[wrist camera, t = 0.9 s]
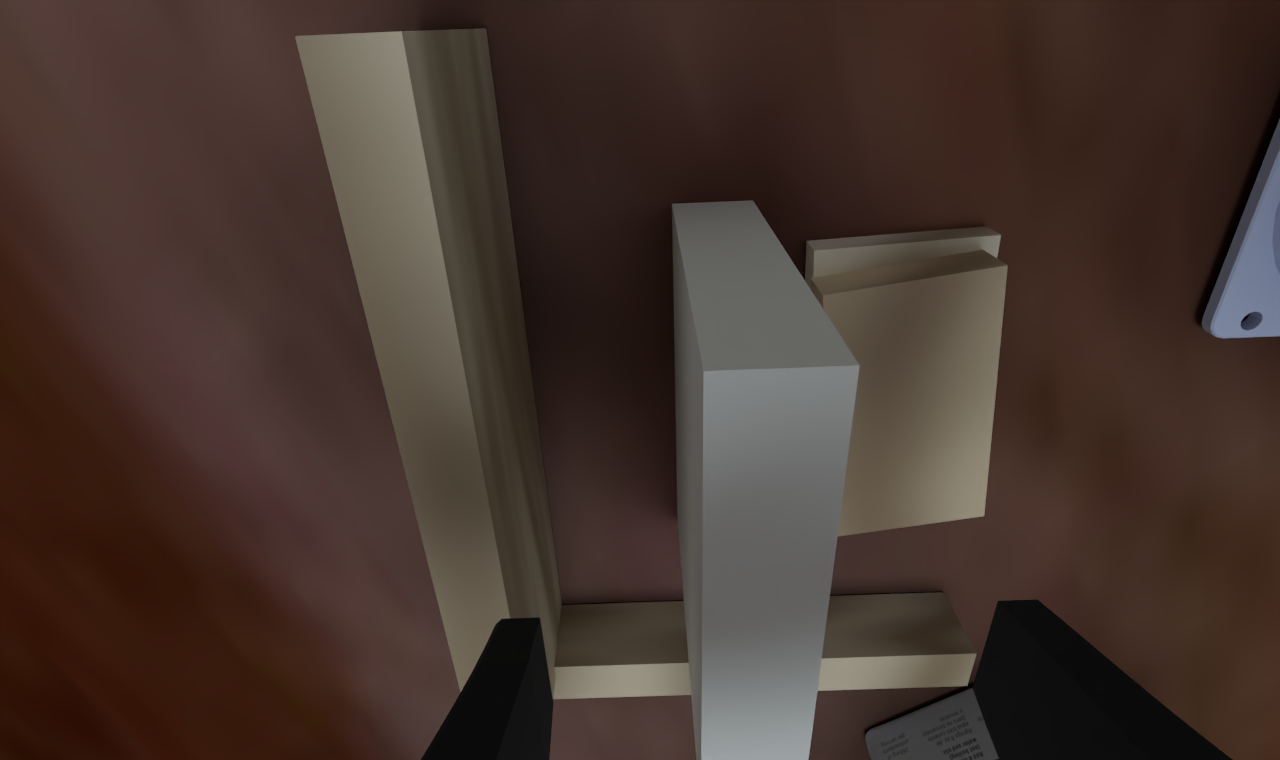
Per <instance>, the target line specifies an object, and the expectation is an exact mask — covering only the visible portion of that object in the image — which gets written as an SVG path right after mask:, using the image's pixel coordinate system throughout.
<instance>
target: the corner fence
mask: <svg viewBox="0 0 1280 760" xmlns="http://www.w3.org/2000/svg"><path fill="white" fill-rule="evenodd" d="M295 38H296V42H297V46H298V50H299V54H300V58H301V62H302V66H303V70H304V74H305V78H306V82H307V86H308V90H309V93H310V97H311V101H312V105H313V109H314V113H315V117H316V121H317V125H318V129H319V133H320V137H321V141H322V145H323V149H324V153H325V157H326V161H327V165H328V169H329V173H330V177H331V181H332V185H333V189H334V193H335V196H336V200H337V204H338V208H339V212H340V216H341V220H342V224H343V228H344V232H345V236H346V240H347V244H348V248H349V252H350V256H351V260H352V264H353V268H354V272H355V276H356V280H357V284H358V288H359V292H360V296H361V299H362V303H363V307H364V311H365V315H366V319H367V323H368V327H369V331H370V335H371V339H372V343H373V347H374V351H375V355H376V359H377V363H378V367H379V371H380V375H381V379H382V383H383V387H384V391H385V395H386V399H387V403H388V406H389V410H390V414H391V418H392V422H393V426H394V430H395V434H396V438H397V442H398V446H399V450H400V454H401V458H402V462H403V466H404V470H405V474H406V478H407V482H408V486H409V490H410V494H411V498H412V502H413V506H414V509H415V513H416V517H417V521H418V525H419V529H420V533H421V537H422V541H423V545H424V549H425V553H426V557H427V561H428V565H429V569H430V573H431V577H432V581H433V585H434V589H435V593H436V597H437V601H438V605H439V609H440V613H441V616H442V620H443V624H444V628H445V632H446V636H447V640H448V644H449V648H450V652H451V656H452V660H453V664H454V668H455V672H456V676H457V680H458V684H459V688H460V692H461V691H462V689H463V687H464V686H465V684H466V682H467V680H468V678H469V677H470V675H471V673H472V671H473V669H474V667H475V665H476V663H477V661H478V659H479V658H480V656H481V654H482V652H483V650H484V648H485V646H486V644H487V642H488V640H489V637H490V635H491V633H492V631H493V629H494V627H495V625H496V623H498V622H499V621H500V620H501V619H507V618H535V617H540V620H541V627H542V633H543V640H544V646H545V652H546V659H547V665H548V672H549V678H550V685H551V691H552V698H553V699H572V698H604V697H636V696H667V695H691V685H690V672H689V660H688V647H687V635H686V622H685V610H684V601H669V602H639V603H609V604H579V605H562V601H561V593H560V586H559V578H558V570H557V563H556V555H555V548H554V540H553V532H552V525H551V517H550V510H549V502H548V494H547V487H546V479H545V472H544V464H543V456H542V449H541V441H540V434H539V426H538V418H537V411H536V403H535V396H534V388H533V380H532V373H531V365H530V358H529V350H528V342H527V335H526V327H525V320H524V312H523V304H522V297H521V289H520V281H519V274H518V266H517V259H516V251H515V243H514V236H513V228H512V221H511V213H510V205H509V198H508V190H507V183H506V175H505V167H504V160H503V152H502V145H501V137H500V129H499V122H498V114H497V107H496V99H495V91H494V84H493V76H492V69H491V61H490V53H489V46H488V38H487V31H486V28H480V29H452V30H424V31H398V32H376V33H354V34H332V35H310V36H295ZM976 654H977V653H976V652H975V650H974V648H973V646H972V644H971V642H970V640H969V639H968V637H967V635H966V633H965V631H964V629H963V627H962V626H961V624H960V622H959V620H958V618H957V616H956V615H955V613H954V611H953V609H952V607H951V605H950V603H949V602H948V600H947V598H946V596H945V594H944V592H937V593H907V594H877V595H847V596H830V598H829V605H828V613H827V621H826V629H825V636H824V644H823V652H822V659H821V667H820V675H819V682H818V690H817V691H825V690H857V689H888V688H920V687H951V686H967V685H968V682H969V678H970V675H971V671H972V668H973V664H974V661H975V657H976Z"/></svg>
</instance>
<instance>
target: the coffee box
mask: <svg viewBox="0 0 1280 760" xmlns="http://www.w3.org/2000/svg"><path fill="white" fill-rule="evenodd" d="M865 740H866V743H867V747H868V751H869V754H870V757H871V760H1000V759H999V757H998V755H997V753H996V750H995V747H994V745H993V742H992V740H991V737H990V735H989V732H988V730H987V727H986V724H985V722H984V719H983V716H982V713H981V710H980V708H979V705H978V702H977V699H976V696H975V694H974V691H973V687H972V688H970V689H968V690H965V691H963V692H960V693H958V694H956V695H953V696H951V697H948V698H946V699H943V700H941V701H938V702H936V703H933V704H931V705H929V706H926V707H924V708H921V709H919V710H916V711H914V712H912V713H909V714H907V715H904V716H902V717H900V718H897V719H895V720H893V721H890V722H887V723H885V724H882V725H880V726H877V727H875V728H872V729H870V730H869V731H868V732H867V733H866V736H865Z"/></svg>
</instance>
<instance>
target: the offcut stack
mask: <svg viewBox="0 0 1280 760" xmlns="http://www.w3.org/2000/svg"><path fill="white" fill-rule="evenodd" d="M1000 239H1001V235H1000V234H999V233H997V232H995V231H993V230H992V229H990V228H988V227H986V226H984V227H972V228H959V229H947V230H935V231H922V232H910V233H898V234H885V235H873V236H861V237H848V238H836V239H824V240H811V241H806V267H805V282H806V283H807V285H808V286H809V288H810V289H811V291H812V292H813V294H814V296H815V297H816V299H817V300H818V302H819V303H820V305H821V306H822V308H823V309H824V311H825V313H826V314H827V316H828V317H829V319H830V320H831V322H832V323H833V325H834V326H835V328H836V330H837V331H838V333H839V334H840V336H841V337H842V339H843V340H844V342H845V343H846V345H847V347H848V348H849V350H850V351H851V353H852V354H853V356H854V357H855V359H856V360H857V362H858V364H859V365H860V367H859V374H858V382H857V390H856V398H855V405H854V413H853V421H852V428H851V436H850V444H849V451H848V459H847V467H846V475H845V482H844V490H843V498H842V505H841V513H840V521H839V528H838V536H844V535H851V534H859V533H866V532H873V531H880V530H887V529H895V528H902V527H909V526H916V525H923V524H931V523H938V522H945V521H952V520H959V519H967V518H974V517H981V516H984V512H985V502H986V491H987V481H988V470H989V459H990V449H991V438H992V427H993V417H994V406H995V396H996V385H997V374H998V364H999V353H1000V342H1001V332H1002V321H1003V310H1004V300H1005V289H1006V279H1007V268H1008V265H1007V264H1005V263H1003V262H1002V261H1000V260H999V259H997V256H998V250H999V245H1000Z"/></svg>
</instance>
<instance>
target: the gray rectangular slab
mask: <svg viewBox="0 0 1280 760" xmlns="http://www.w3.org/2000/svg"><path fill="white" fill-rule="evenodd" d="M672 240H673V298H674V356H675V414H676V472H677V522H678V535H679V547H680V560H681V572H682V585H683V597H684V610H685V622H686V635H687V647H688V660H689V672H690V685H691V697H692V710H693V722H694V735H695V747H696V760H809V752H810V744H811V736H812V729H813V721H814V713H815V706H816V698H817V690H818V682H819V675H820V667H821V659H822V652H823V644H824V636H825V629H826V621H827V613H828V605H829V598H830V590H831V582H832V575H833V567H834V559H835V552H836V544H837V536H838V528H839V521H840V513H841V505H842V498H843V490H844V482H845V475H846V467H847V459H848V451H849V444H850V436H851V428H852V421H853V413H854V405H855V398H856V390H857V382H858V374H859V367H860V365H859V364H858V362H857V360H856V359H855V357H854V356H853V354H852V353H851V351H850V350H849V348H848V347H847V345H846V343H845V342H844V340H843V339H842V337H841V336H840V334H839V333H838V331H837V330H836V328H835V326H834V325H833V323H832V322H831V320H830V319H829V317H828V316H827V314H826V313H825V311H824V309H823V308H822V306H821V305H820V303H819V302H818V300H817V299H816V297H815V296H814V294H813V292H812V291H811V289H810V288H809V286H808V285H807V283H806V282H805V280H804V279H803V277H802V275H801V274H800V272H799V271H798V269H797V268H796V266H795V265H794V263H793V262H792V260H791V258H790V257H789V255H788V254H787V252H786V251H785V249H784V248H783V246H782V245H781V243H780V241H779V240H778V238H777V237H776V235H775V234H774V232H773V231H772V229H771V228H770V226H769V224H768V223H767V221H766V220H765V218H764V217H763V215H762V214H761V212H760V211H759V209H758V207H757V206H756V204H755V203H754V201H753V200H751V201H727V202H703V203H678V204H672Z"/></svg>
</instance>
